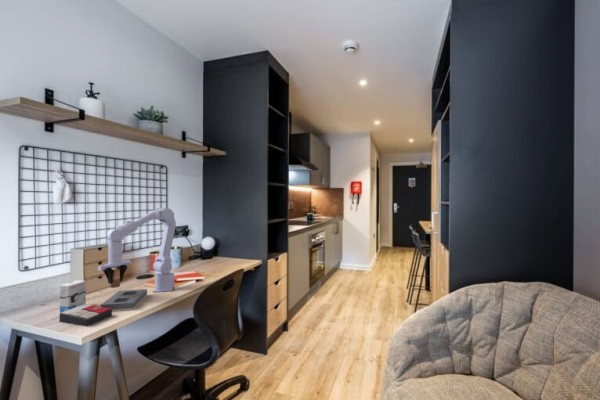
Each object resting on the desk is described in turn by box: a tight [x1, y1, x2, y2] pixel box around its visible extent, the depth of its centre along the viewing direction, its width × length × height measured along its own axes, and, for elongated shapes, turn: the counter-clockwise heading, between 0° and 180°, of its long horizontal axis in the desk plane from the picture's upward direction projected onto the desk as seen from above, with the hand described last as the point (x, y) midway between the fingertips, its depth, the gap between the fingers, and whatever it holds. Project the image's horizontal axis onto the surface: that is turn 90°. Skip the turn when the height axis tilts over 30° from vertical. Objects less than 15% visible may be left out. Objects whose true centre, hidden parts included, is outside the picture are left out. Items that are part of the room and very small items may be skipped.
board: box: [100, 288, 148, 312], centre depth 140 cm, size 13×20×3 cm, turn 12°
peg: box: [110, 268, 121, 289], centre depth 143 cm, size 4×4×8 cm
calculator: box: [59, 303, 113, 327], centre depth 122 cm, size 11×4×15 cm
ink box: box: [59, 279, 87, 313], centre depth 132 cm, size 8×5×12 cm, turn 168°
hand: (115, 282), depth 143 cm, fingers closed on peg, 4 cm apart
